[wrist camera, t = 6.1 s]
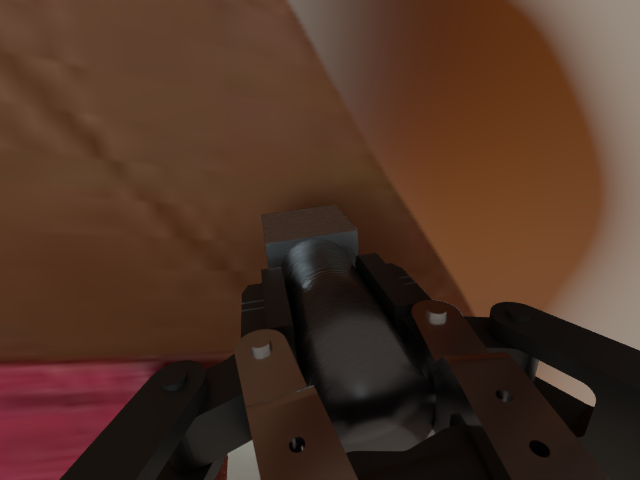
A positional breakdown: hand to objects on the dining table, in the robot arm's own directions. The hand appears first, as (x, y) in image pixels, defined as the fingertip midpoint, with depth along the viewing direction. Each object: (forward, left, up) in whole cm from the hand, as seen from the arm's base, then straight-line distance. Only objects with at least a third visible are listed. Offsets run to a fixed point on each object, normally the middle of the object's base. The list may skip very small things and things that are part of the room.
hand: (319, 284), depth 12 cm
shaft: (0, -10, -5) cm, 11 cm away
